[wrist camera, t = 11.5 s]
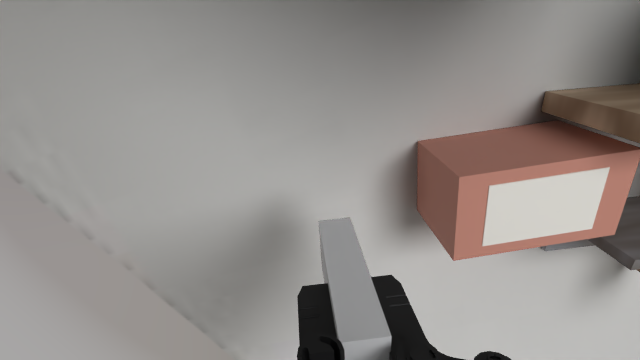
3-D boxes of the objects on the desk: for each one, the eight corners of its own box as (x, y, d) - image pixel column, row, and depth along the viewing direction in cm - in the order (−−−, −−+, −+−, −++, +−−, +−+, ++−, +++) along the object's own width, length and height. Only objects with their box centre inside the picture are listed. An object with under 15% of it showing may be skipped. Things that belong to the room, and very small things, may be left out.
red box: (416, 140, 20) (460, 177, 15) (556, 119, 20) (644, 149, 15) (416, 208, 22) (453, 261, 17) (542, 189, 22) (615, 235, 17)
